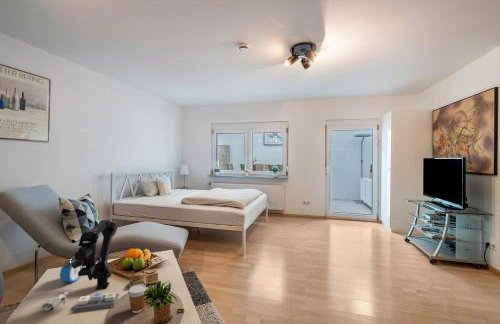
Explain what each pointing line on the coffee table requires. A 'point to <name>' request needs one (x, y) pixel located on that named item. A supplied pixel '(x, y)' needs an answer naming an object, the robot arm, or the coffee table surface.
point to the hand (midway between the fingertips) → (90, 280)
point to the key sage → (110, 297)
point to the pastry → (136, 279)
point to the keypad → (95, 304)
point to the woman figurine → (54, 302)
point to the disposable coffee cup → (137, 297)
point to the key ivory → (84, 300)
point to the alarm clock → (69, 271)
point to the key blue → (97, 296)
